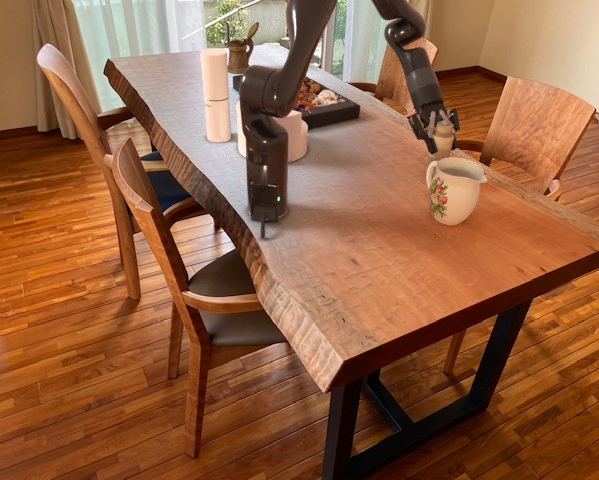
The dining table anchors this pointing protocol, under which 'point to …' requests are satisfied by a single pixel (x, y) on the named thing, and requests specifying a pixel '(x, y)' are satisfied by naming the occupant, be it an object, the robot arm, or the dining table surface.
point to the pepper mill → (441, 143)
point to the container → (294, 128)
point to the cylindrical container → (216, 94)
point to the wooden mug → (241, 52)
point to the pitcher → (454, 188)
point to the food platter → (319, 104)
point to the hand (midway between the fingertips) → (444, 151)
